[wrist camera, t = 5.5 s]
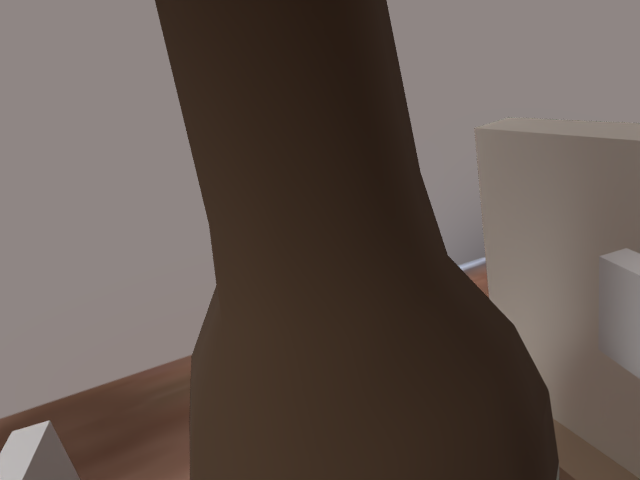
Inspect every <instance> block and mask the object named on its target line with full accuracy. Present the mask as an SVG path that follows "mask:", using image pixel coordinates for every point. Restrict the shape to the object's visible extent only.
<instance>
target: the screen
mask: <svg viewBox="0 0 640 480" xmlns="http://www.w3.org/2000/svg"><path fill="white" fill-rule="evenodd" d="M474 129H475V141H476V152H477V163H478V174H479V186H480V198H481V209H482V222H483V232H484V245H485V256H486V268H487V279H488V291H489V299H490V300H491V301H492V302H493V303H494V304H495V305H496V306H497V307H498V308H499V310H500V311H501V312H502V313H503V314H504V315H505V316H506V317H507V318H508V319H509V320H510V321H511V322H512V323H513V324H514V325H515V327H516V329H517V331H518V333H519V335H520V337H521V339H522V341H523V343H524V344H525V346H526V348H527V350H528V352H529V354H530V356H531V358H532V360H533V362H534V363H535V365H536V367H537V369H538V371H539V373H540V375H541V377H542V379H543V381H544V382H545V384H546V386H547V388H548V390H549V395H550V402H551V409H552V416H553V423H554V430H555V437H556V444H557V451H558V458H559V478H560V480H640V379H639V378H638V377H636V376H635V375H633V374H632V373H631V372H629V371H628V370H626V369H625V368H624V367H622V366H621V365H619V364H618V363H617V362H615V361H614V360H612V359H611V358H610V357H608V356H607V355H605V354H604V353H603V352H601V351H600V350H598V334H599V256H602V255H605V254H609V253H612V252H615V251H619V250H622V249H625V248H627V249H630V250H632V251H635V252H637V253H639V254H640V123H625V122H601V121H579V120H557V119H535V118H512V117H508V118H505V119H502V120H498V121H495V122H492V123H489V124H486V125H482V126H479V127H476V128H474Z"/></svg>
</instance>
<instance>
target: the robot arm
mask: <svg viewBox="0 0 640 480" xmlns="http://www.w3.org/2000/svg"><path fill="white" fill-rule="evenodd" d="M598 350H600V351H601V352H603V353H604V354H605V355H607V356H608V357H610V358H611V359H612V360H614V361H615V362H617V363H618V364H619V365H621V366H622V367H624V368H625V369H626V370H628V371H629V372H631V373H632V374H633V375H635V376H636V377H638V378H639V379H640V254H639V253H637V252H635V251H632V250H630V249H627V248H625V249H622V250H619V251H615V252H612V253H609V254H605V255H602V256H599V334H598ZM0 480H80V478H79V476H78V474H77V472H76V470H75V468H74V466H73V464H72V462H71V460H70V458H69V456H68V454H67V452H66V451H65V449H64V447H63V445H62V443H61V441H60V439H59V437H58V435H57V433H56V431H55V429H54V427H53V425H52V423H51V421H50V420H49V421H45V422H42V423H39V424H35V425H32V426H29V427H25V428H22V429H19V430H15V431H12V433H11V435H10V436H9V438H8V440H7V442H6V444H5V445H4V447H3V449H2V451H1V453H0Z"/></svg>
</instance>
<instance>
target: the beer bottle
mask: <svg viewBox="0 0 640 480" xmlns="http://www.w3.org/2000/svg"><path fill="white" fill-rule="evenodd" d="M155 2H156V7H157V11H158V14H159V19H160V23H161V27H162V31H163V36H164V40H165V44H166V48H167V52H168V56H169V60H170V65H171V69H172V72H173V77H174V81H175V85H176V89H177V93H178V98H179V102H180V106H181V110H182V114H183V118H184V123H185V126H186V131H187V135H188V139H189V143H190V147H191V152H192V156H193V160H194V164H195V168H196V172H197V176H198V181H199V185H200V188H201V193H202V197H203V201H204V205H205V210H206V214H207V218H208V222H209V228H210V235H211V244H212V251H213V260H214V267H215V276H216V284H217V285H216V288H215V291H214V294H213V297H212V299H211V302H210V305H209V308H208V311H207V314H206V317H205V320H204V322H203V325H202V328H201V331H200V334H199V337H198V340H197V343H196V345H195V348H194V351H193V354H192V361H191V390H190V480H560V478H559V458H558V451H557V444H556V437H555V430H554V423H553V416H552V409H551V402H550V395H549V390H548V388H547V386H546V384H545V382H544V381H543V379H542V377H541V375H540V373H539V371H538V369H537V367H536V365H535V363H534V362H533V360H532V358H531V356H530V354H529V352H528V350H527V348H526V346H525V344H524V343H523V341H522V339H521V337H520V335H519V333H518V331H517V329H516V327H515V325H514V324H513V323H512V322H511V321H510V320H509V319H508V318H507V317H506V316H505V315H504V314H503V313H502V312H501V311H500V310H499V308H498V307H497V306H496V305H495V304H494V303H493V302H492V301H491V300H490V299H489V298H488V297H487V296H486V295H485V294H484V293H483V292H482V291H481V290H480V289H479V288H478V287H477V285H476V284H475V283H474V282H473V281H472V280H471V279H470V278H469V277H468V276H467V275H466V274H465V273H464V272H463V271H462V270H461V269H460V268H459V267H458V266H457V265H456V264H455V263H454V261H453V260H452V259H451V258H450V257H449V256H448V255H447V252H446V249H445V246H444V243H443V240H442V237H441V234H440V230H439V227H438V224H437V221H436V218H435V216H434V212H433V209H432V206H431V203H430V200H429V197H428V194H427V191H426V188H425V185H424V182H423V179H422V176H421V173H420V168H419V163H418V158H417V153H416V148H415V143H414V138H413V133H412V127H411V123H410V118H409V112H408V108H407V102H406V98H405V92H404V87H403V82H402V77H401V72H400V67H399V62H398V57H397V52H396V47H395V42H394V37H393V32H392V27H391V21H390V17H389V12H388V6H387V1H386V0H155Z"/></svg>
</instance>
